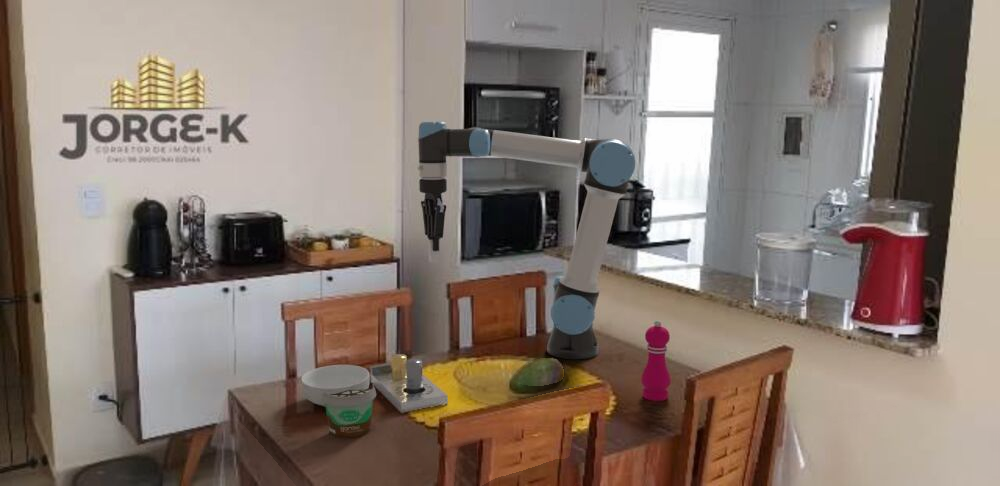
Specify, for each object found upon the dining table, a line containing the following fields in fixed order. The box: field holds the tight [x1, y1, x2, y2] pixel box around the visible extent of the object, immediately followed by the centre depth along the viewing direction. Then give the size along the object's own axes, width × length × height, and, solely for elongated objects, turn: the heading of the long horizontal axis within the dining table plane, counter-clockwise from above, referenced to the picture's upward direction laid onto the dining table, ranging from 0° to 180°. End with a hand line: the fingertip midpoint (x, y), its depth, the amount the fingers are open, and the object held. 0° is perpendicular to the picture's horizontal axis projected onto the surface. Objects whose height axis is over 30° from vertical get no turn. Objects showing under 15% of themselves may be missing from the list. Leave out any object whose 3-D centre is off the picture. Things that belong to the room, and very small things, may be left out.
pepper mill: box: [640, 319, 671, 402], centre depth 200 cm, size 7×7×20 cm
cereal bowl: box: [300, 364, 371, 408], centre depth 198 cm, size 17×17×7 cm
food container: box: [322, 384, 377, 439], centre depth 178 cm, size 12×6×10 cm, turn 114°
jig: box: [369, 353, 449, 414], centre depth 204 cm, size 12×24×8 cm, turn 27°
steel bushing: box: [406, 358, 423, 394], centre depth 199 cm, size 4×4×10 cm
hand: (434, 261), depth 224 cm, fingers closed
